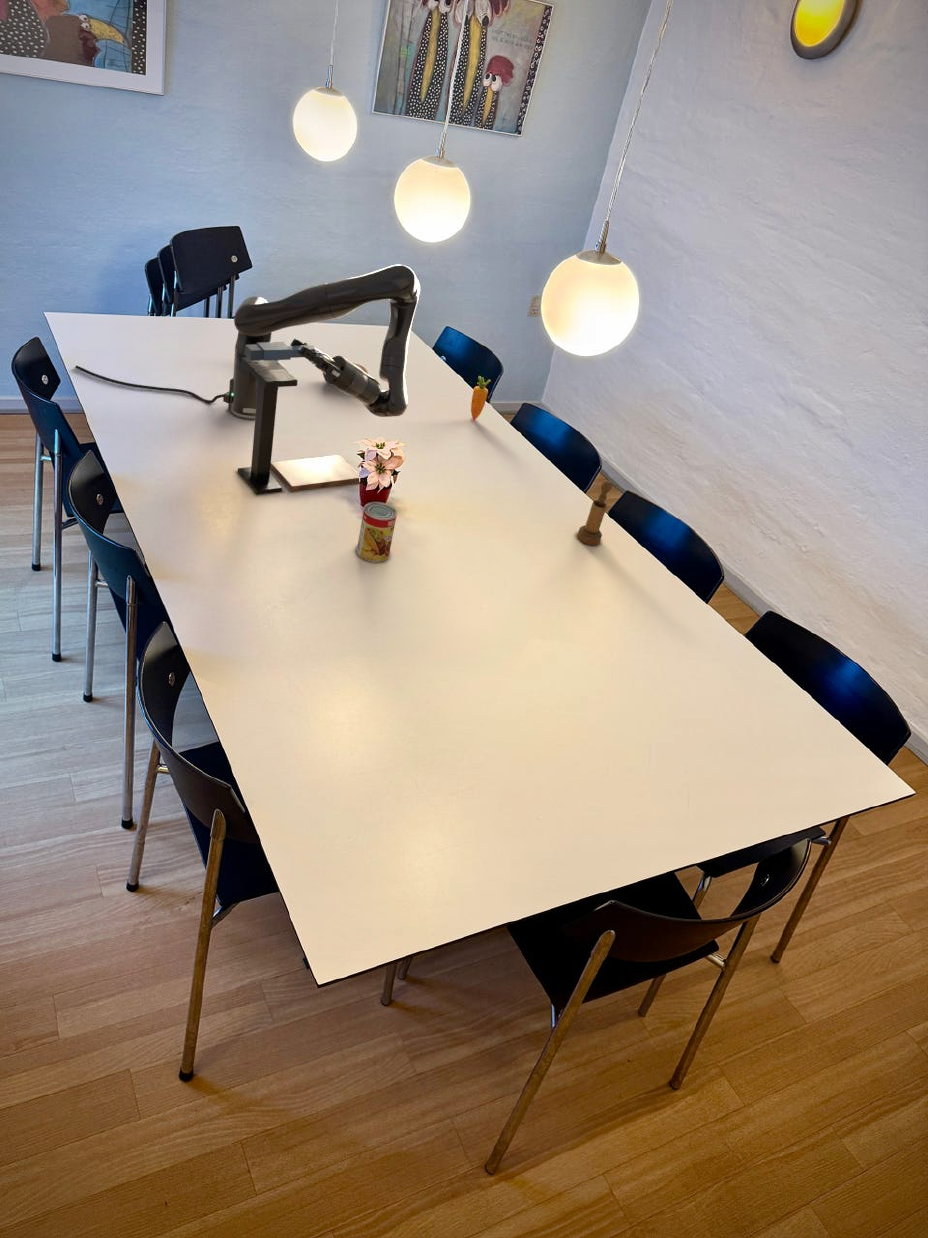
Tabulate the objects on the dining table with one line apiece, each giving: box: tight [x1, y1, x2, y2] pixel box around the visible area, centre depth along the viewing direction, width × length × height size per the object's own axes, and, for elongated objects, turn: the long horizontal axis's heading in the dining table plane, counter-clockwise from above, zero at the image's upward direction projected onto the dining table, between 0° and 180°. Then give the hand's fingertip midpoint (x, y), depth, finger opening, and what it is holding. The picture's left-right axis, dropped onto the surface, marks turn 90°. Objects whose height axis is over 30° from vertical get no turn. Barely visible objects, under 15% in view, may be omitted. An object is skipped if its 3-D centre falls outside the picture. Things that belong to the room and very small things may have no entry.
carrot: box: [470, 375, 491, 421], centre depth 287 cm, size 5×5×15 cm
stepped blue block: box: [245, 341, 321, 361], centre depth 211 cm, size 18×4×3 cm, turn 126°
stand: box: [237, 357, 299, 496], centre depth 221 cm, size 8×14×31 cm, turn 36°
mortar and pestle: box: [576, 480, 613, 546], centre depth 238 cm, size 7×6×18 cm
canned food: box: [356, 501, 398, 563], centre depth 211 cm, size 8×8×12 cm
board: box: [270, 454, 360, 492], centre depth 239 cm, size 21×13×2 cm, turn 126°
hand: (297, 346), depth 213 cm, fingers closed on stepped blue block, 4 cm apart
